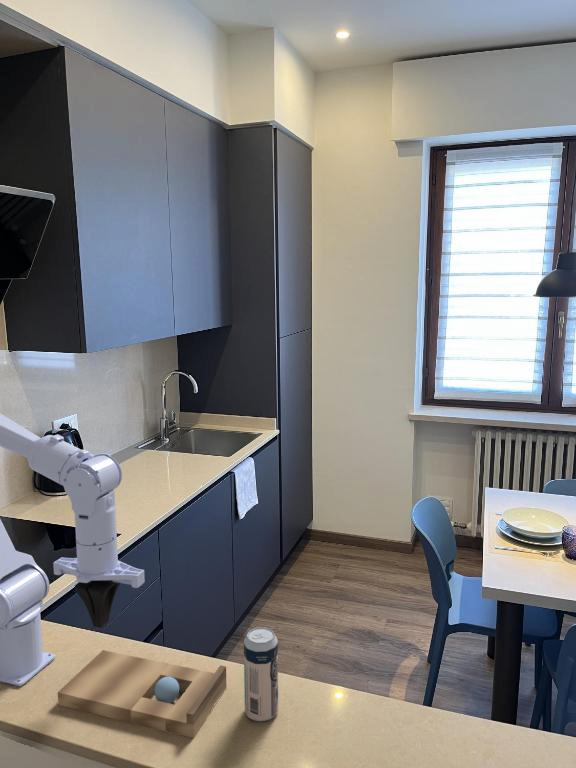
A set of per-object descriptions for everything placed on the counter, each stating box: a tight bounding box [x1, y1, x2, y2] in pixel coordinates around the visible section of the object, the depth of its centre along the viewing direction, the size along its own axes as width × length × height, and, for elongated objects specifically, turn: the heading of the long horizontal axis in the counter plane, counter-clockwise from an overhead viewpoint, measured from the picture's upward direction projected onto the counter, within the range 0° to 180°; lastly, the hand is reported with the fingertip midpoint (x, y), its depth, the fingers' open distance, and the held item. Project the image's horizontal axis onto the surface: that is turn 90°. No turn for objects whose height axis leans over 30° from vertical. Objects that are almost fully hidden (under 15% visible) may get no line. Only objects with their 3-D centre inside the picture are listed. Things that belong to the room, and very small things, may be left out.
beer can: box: [243, 626, 279, 722], centre depth 83 cm, size 5×5×12 cm
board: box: [57, 649, 228, 739], centre depth 87 cm, size 22×11×4 cm, turn 72°
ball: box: [154, 677, 180, 704], centre depth 86 cm, size 4×4×4 cm
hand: (101, 623), depth 88 cm, fingers closed
